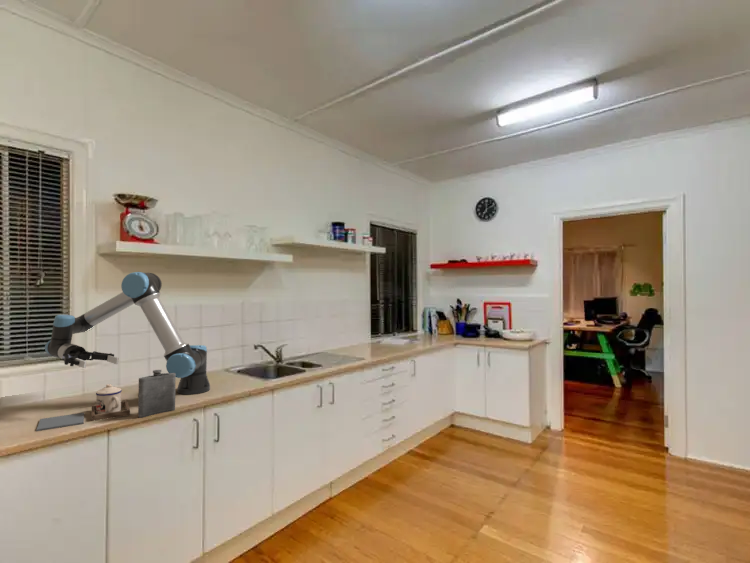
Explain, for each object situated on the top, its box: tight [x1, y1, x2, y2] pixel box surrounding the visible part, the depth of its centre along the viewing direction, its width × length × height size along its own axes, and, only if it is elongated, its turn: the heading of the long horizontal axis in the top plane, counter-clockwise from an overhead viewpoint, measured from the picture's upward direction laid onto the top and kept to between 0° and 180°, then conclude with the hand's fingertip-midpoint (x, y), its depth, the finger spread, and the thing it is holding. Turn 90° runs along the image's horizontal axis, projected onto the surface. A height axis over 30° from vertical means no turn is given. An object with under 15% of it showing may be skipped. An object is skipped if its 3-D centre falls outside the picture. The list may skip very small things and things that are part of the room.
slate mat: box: [36, 412, 85, 432], centre depth 157 cm, size 14×14×1 cm
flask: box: [137, 369, 177, 419], centre depth 169 cm, size 4×14×18 cm, turn 139°
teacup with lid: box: [95, 383, 123, 415], centre depth 169 cm, size 12×9×12 cm
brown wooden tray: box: [91, 400, 131, 422], centre depth 169 cm, size 13×16×2 cm
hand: (102, 362), depth 173 cm, fingers open, 13 cm apart
